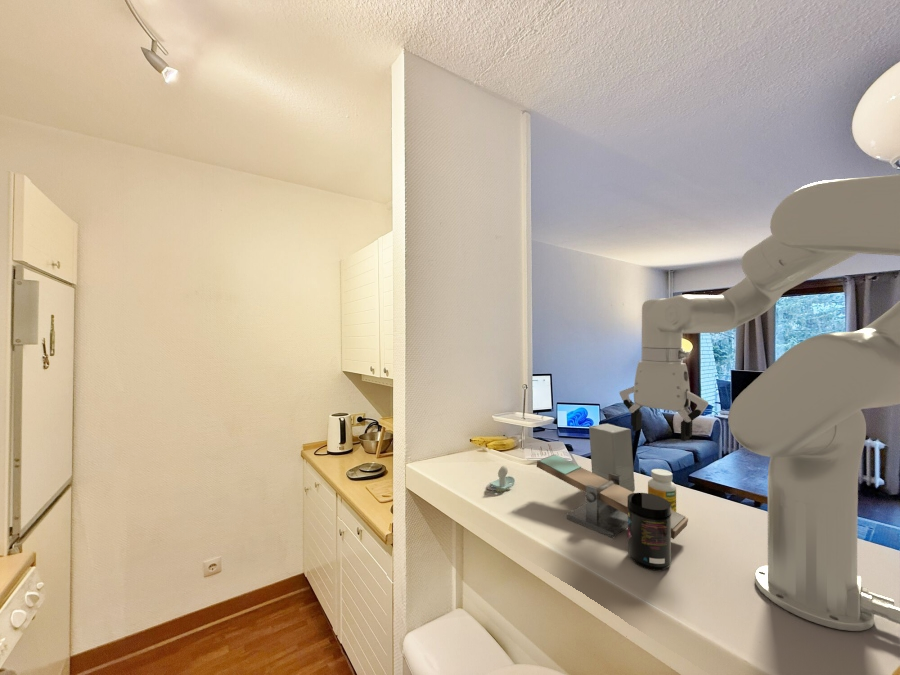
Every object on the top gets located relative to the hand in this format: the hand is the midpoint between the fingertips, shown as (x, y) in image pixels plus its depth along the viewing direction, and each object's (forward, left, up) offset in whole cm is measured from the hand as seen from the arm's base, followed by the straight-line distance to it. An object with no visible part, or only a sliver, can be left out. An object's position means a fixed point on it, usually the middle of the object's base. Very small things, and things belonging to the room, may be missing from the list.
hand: (660, 434), depth 81 cm
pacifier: (+33, +15, -18) cm, 40 cm away
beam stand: (+8, +10, -18) cm, 22 cm away
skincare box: (+14, -6, -18) cm, 23 cm away
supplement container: (-5, +19, -18) cm, 26 cm away
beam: (+8, +10, -13) cm, 18 cm away
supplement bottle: (0, 0, -18) cm, 18 cm away
